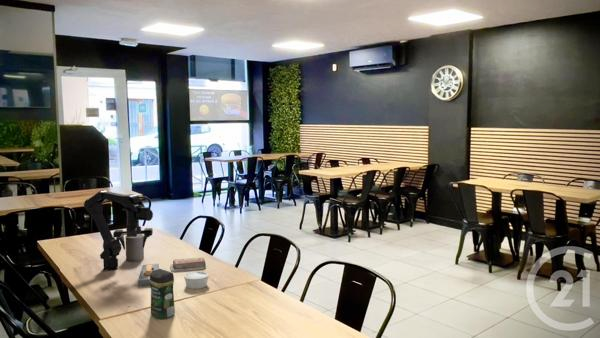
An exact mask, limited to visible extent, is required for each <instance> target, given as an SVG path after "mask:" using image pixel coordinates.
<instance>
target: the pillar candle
mask: <svg viewBox="0 0 600 338" xmlns="http://www.w3.org/2000/svg"><path fill="white" fill-rule="evenodd" d="M143 237H144V234H137V236H136V237H127V235H125V261H126V262H131V263H136V262H142V261H144V258H145V253H144V252H145V248H144V249H143Z"/></svg>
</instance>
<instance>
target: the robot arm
mask: <svg viewBox="0 0 600 338" xmlns="http://www.w3.org/2000/svg"><path fill="white" fill-rule="evenodd" d="M105 201H111V202H116V203H120V204H121V205H122V206H125V207H123V208H122V211H125V212H126V230H123V229H115V230H114V231H113V234H112V232H111V230H110V227H109V225H108V223H107V219H106V217H105V216H104V213H103V210H104V209H103V208H104V207H103V203H104V202H105ZM83 206H84V208H85V211H87V213H88V214H89V215H91V217H92V218H93V220H94V222H95V224H96V227H97V229H98V231H99V234H100V236H101V238H102V241H103V242H102V243H103V244H102V249H103V251H101V253H100V254H99V257H100V260H103V263H102V264H103V268H102V271H113V270H117V269H118V267H119V258H118V256H119V255H120V253H121V252H122V250H123V251H124V250H125V251H126V241H125V236H126V235H127V237H136V236H137V234H142V235H143V249H144V250H145V245H146V243H147V239H148V238H150V237H151V236H153V232H154V231H153V228H152V227H149V228H145V227H144V229H143V230H142V227H141V226H140V221H145V222H146V221H147V222H149V221H151V220H152V219H153V217H154V213H153V211H152V209H151V207H149V206H148V207H146V206H145V205H144V203H143V201H142V200H141V199H140V196H139V195H138V194H133V193H132V194H123V193H122V194H121V193H119V192H114V191H113V192H112V191H107V190H106V189H105V190H100V191H98V192H96V193H95V194H94V195H92V196H90V197H89V198H88V199H85V201H84V203H83ZM122 248H123V249H122Z"/></svg>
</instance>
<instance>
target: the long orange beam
mask: <svg viewBox="0 0 600 338" xmlns="http://www.w3.org/2000/svg"><path fill="white" fill-rule="evenodd" d="M146 265H147V264H146ZM151 271H152V265H147V266H146V270H145V275H150V273H151Z"/></svg>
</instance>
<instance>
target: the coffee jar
mask: <svg viewBox="0 0 600 338" xmlns="http://www.w3.org/2000/svg"><path fill="white" fill-rule="evenodd" d="M174 283H175V277H174V272H171V271H169V270H165V269H161V268H159V269H157V270H153V271H152V272H151V273H150V315H151V316H153V317H155V318H156V319H159V320H163V319H169V318H171V317H173V316H174V315H175V313H176V309H175V297H174Z"/></svg>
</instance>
